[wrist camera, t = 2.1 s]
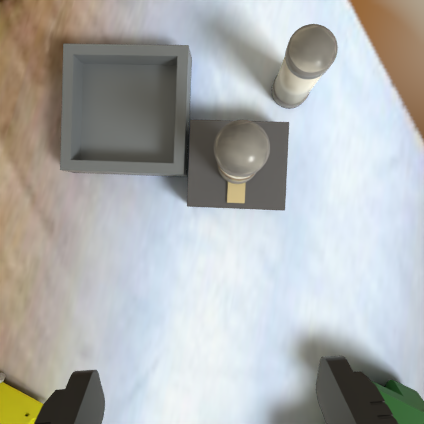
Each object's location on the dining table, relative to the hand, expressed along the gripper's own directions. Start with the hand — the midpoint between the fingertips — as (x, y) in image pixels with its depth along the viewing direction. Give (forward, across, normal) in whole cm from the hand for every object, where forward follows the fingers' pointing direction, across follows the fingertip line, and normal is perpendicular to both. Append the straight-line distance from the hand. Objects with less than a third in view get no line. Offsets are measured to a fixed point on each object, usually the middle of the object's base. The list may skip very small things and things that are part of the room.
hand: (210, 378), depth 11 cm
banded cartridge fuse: (+19, -3, -3) cm, 20 cm away
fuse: (+24, -9, -9) cm, 27 cm away
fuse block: (+22, -4, -2) cm, 22 cm away
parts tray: (+25, +7, -7) cm, 27 cm away
